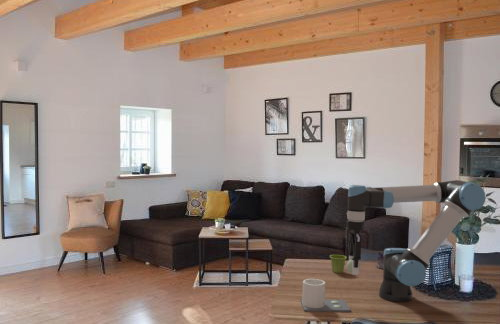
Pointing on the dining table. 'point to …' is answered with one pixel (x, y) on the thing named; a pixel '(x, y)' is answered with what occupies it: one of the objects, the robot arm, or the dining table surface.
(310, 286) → the tube stand
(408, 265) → the robot arm
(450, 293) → the dining table surface
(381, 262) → the geode
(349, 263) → the sage ball
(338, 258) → the plant pot
